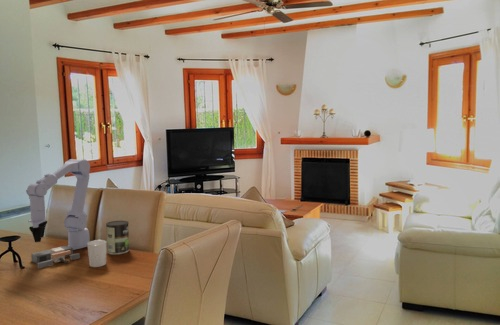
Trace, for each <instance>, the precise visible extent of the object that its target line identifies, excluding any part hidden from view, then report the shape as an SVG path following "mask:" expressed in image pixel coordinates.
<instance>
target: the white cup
mask: <svg viewBox="0 0 500 325" xmlns="http://www.w3.org/2000/svg"><path fill="white" fill-rule="evenodd" d="M87 246H88V247H87V255H88V262H89V264H88V265H89V266H90V267H91V268H101V267H103V266H106V264H107V240H105V239H94V240H90V242H88V243H87Z"/></svg>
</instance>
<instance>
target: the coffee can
mask: <svg viewBox="0 0 500 325" xmlns="http://www.w3.org/2000/svg"><path fill="white" fill-rule="evenodd" d="M129 224H130V223H129V220H128V221H127V220H112V221H109V222H108V221H107V222H106V223H105V226H106V241H107V252H106V254H109V255H114V256H115V255H124V254H126V253H129V251H130V242H129V241H130V240H129V239H130V234H129V230H130V229H129Z"/></svg>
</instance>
